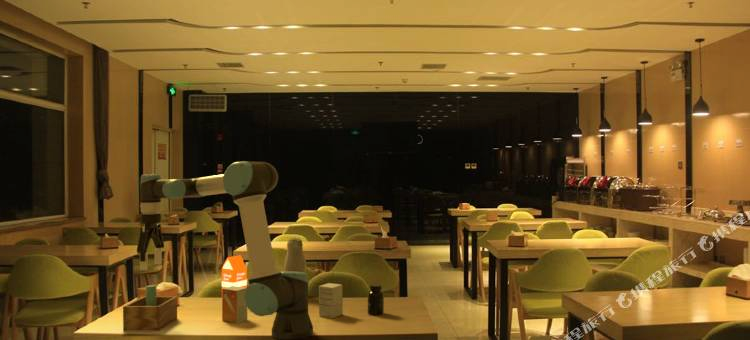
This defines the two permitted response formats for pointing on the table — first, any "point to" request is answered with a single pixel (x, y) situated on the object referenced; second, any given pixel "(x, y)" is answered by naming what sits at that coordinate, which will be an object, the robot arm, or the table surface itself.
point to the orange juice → (234, 272)
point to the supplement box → (330, 300)
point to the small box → (234, 304)
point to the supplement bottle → (375, 300)
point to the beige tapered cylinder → (295, 256)
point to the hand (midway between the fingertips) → (151, 266)
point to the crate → (150, 313)
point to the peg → (151, 295)
